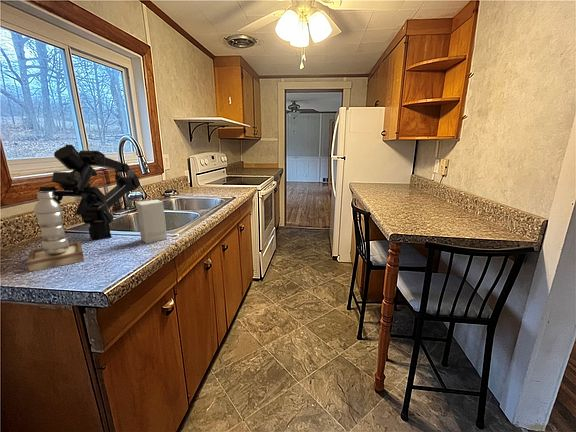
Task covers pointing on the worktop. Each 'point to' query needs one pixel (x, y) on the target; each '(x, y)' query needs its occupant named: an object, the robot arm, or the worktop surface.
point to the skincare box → (151, 221)
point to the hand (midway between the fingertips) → (62, 214)
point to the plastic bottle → (51, 223)
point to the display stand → (54, 257)
